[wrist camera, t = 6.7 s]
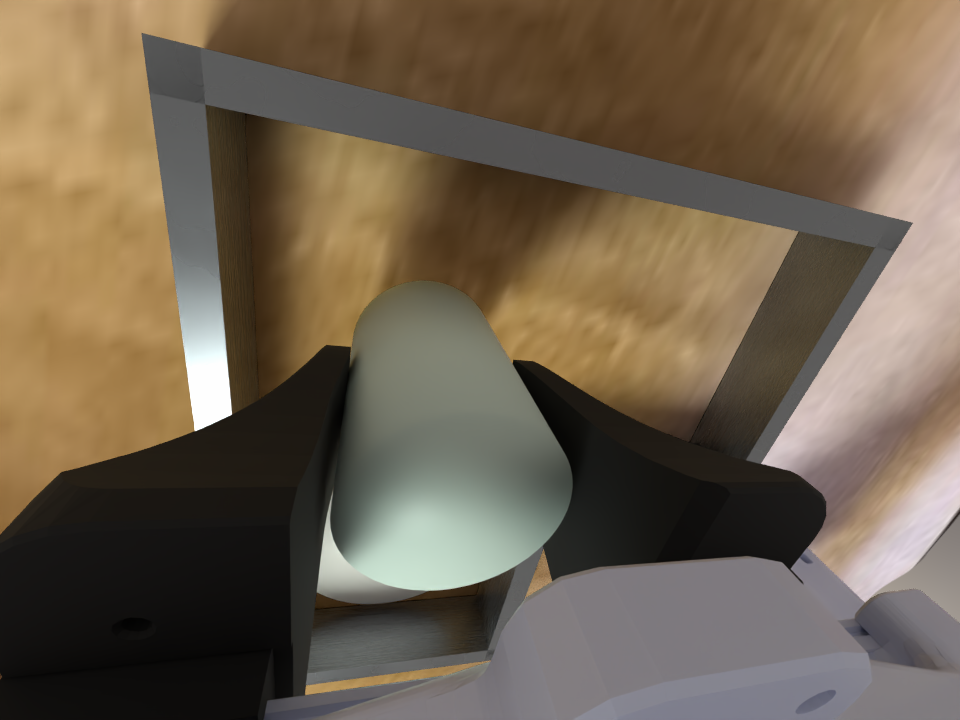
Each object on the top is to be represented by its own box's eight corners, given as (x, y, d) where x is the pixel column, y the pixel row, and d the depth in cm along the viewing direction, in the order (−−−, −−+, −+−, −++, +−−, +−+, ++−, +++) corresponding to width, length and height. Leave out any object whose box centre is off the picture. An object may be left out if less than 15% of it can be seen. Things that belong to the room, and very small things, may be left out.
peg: (501, 289, 13) (603, 417, 7) (475, 406, 15) (538, 582, 9) (357, 271, 12) (335, 406, 6) (348, 400, 14) (326, 599, 8)
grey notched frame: (831, 209, 17) (912, 222, 14) (624, 591, 27) (650, 638, 25) (198, 57, 11) (141, 32, 8) (249, 627, 21) (230, 695, 19)
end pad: (493, 471, 20) (494, 476, 19) (461, 591, 24) (461, 596, 23) (288, 472, 17) (287, 477, 17) (290, 605, 21) (289, 611, 21)
